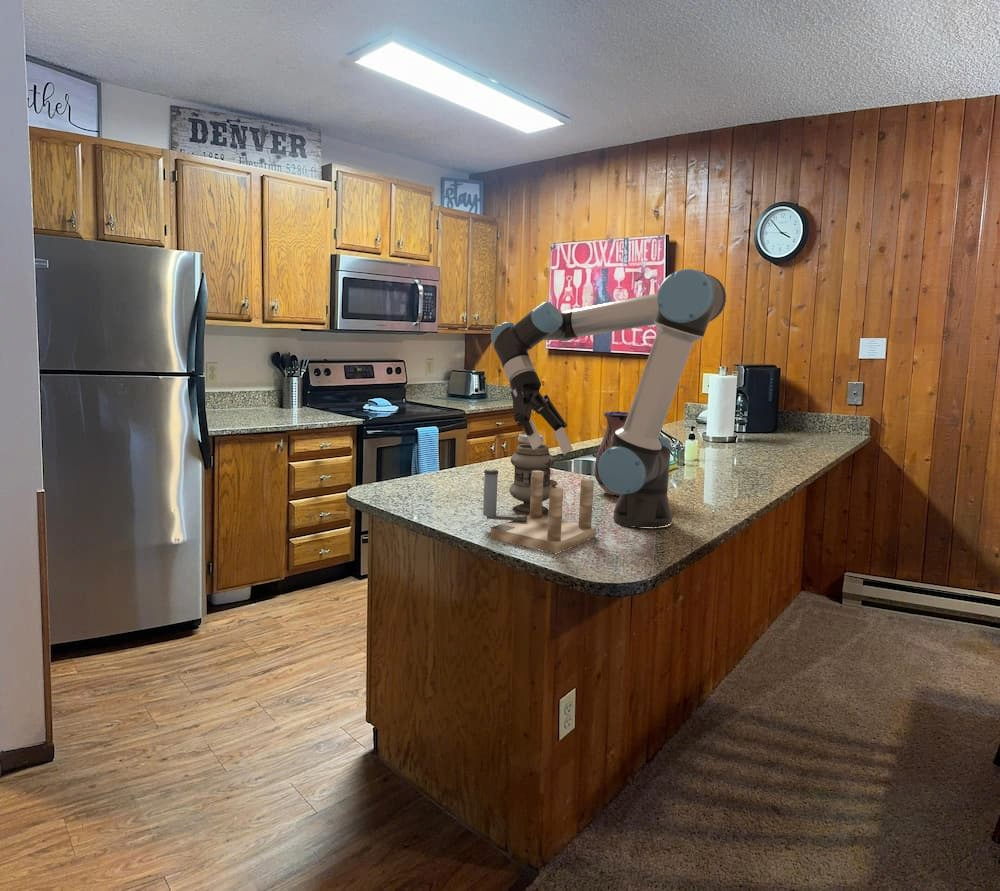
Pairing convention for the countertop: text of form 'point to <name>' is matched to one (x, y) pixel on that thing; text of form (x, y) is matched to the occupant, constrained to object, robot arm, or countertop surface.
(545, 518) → the ash stool
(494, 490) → the folding leg
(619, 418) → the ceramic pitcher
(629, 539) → the countertop surface
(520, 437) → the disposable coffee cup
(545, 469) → the apothecary jar
